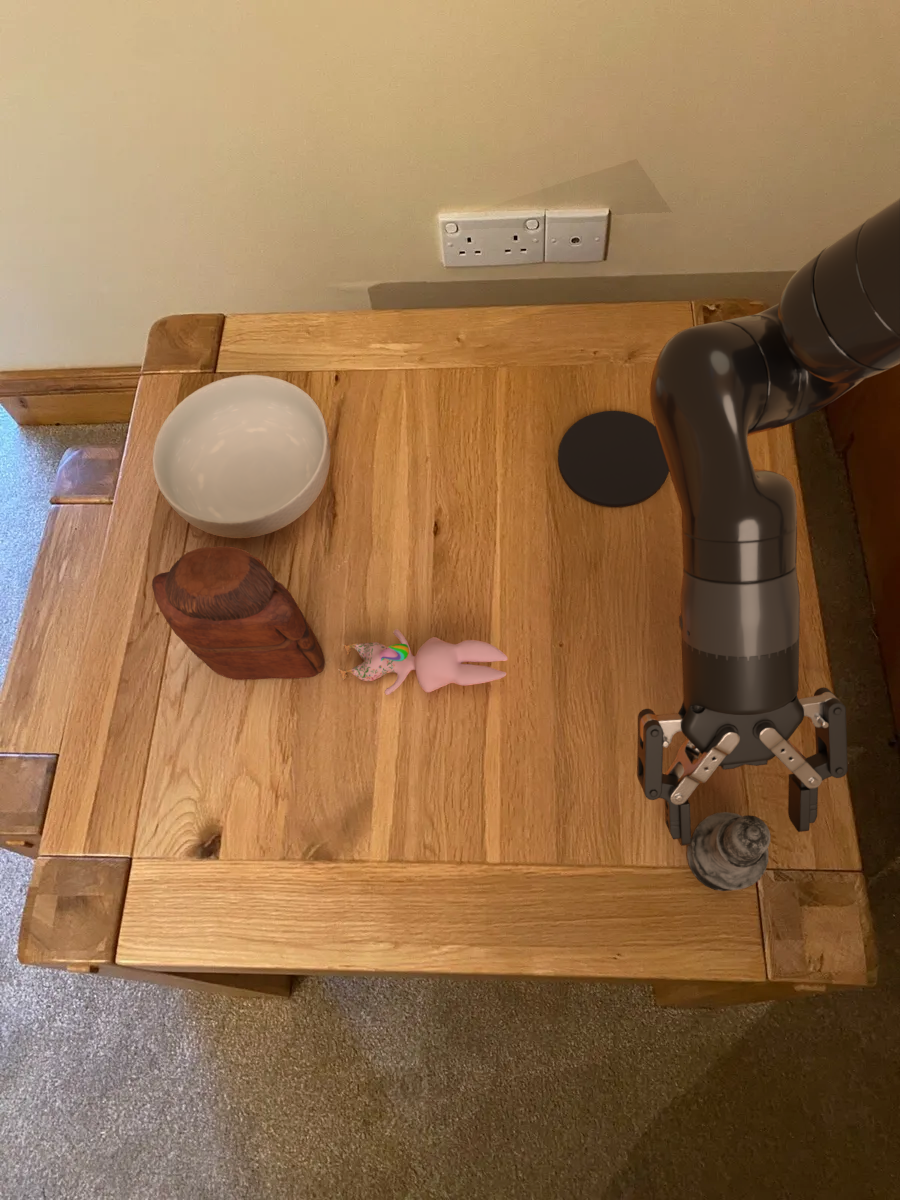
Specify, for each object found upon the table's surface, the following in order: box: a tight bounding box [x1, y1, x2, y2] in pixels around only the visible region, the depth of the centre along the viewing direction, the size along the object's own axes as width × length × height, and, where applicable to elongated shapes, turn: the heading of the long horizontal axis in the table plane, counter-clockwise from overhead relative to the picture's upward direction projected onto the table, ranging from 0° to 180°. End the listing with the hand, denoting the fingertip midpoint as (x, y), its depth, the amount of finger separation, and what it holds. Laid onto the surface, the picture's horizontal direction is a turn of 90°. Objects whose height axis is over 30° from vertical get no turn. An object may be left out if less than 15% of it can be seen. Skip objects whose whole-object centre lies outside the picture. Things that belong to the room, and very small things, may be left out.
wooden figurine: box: [151, 545, 326, 681], centre depth 74 cm, size 12×6×18 cm, turn 89°
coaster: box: [557, 410, 670, 508], centre depth 88 cm, size 11×11×1 cm
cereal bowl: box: [152, 374, 332, 539], centre depth 86 cm, size 17×17×7 cm
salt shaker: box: [686, 811, 771, 892], centre depth 66 cm, size 6×6×12 cm
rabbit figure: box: [337, 628, 509, 696], centre depth 78 cm, size 6×6×15 cm
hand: (740, 832), depth 65 cm, fingers open, 8 cm apart
